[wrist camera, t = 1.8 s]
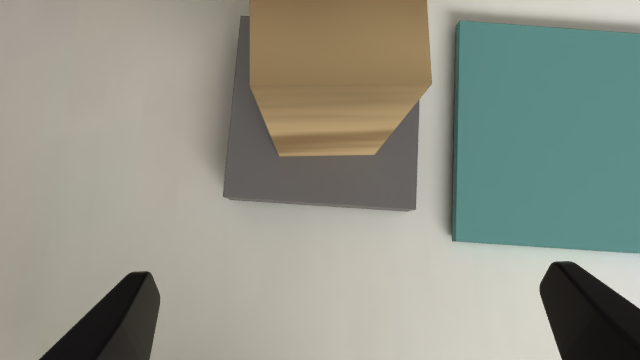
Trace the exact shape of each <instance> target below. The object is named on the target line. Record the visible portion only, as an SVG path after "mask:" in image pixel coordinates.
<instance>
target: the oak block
mask: <svg viewBox="0 0 640 360" xmlns="http://www.w3.org/2000/svg"><path fill="white" fill-rule="evenodd" d="M431 84H432V77H431V61H430V45H429V29H428V13H427V0H250V88H251V90H252V93H253V95H254V97H255V100H256V102H257V105H258V107H259V109H260V112H261V114H262V117H263V119H264V121H265V124H266V126H267V128H268V131H269V133H270V136H271V138H272V140H273V143H274V145H275V148H276V150H277V152H278V155H279V157H283V156H340V155H375V153H376V152H377V151H378V150H379V148H380V147H381V146H382V145H383V143H384V142H385V141H386V140H387V139H388V137H389V136H390V135H391V134H392V132H393V131H394V130H395V129H396V127H397V126H398V125H399V124H400V122H401V121H402V120H403V119H404V118H405V116H406V115H407V114H408V113H409V111H410V110H411V109H412V108H413V106H414V105H415V104H416V103H417V101H418V100H419V99H420V98H421V96H422V95H423V94H424V93H425V92H426V90H427V89H428V88H429V87H430V85H431Z"/></svg>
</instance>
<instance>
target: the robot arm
mask: <svg viewBox="0 0 640 360" xmlns="http://www.w3.org/2000/svg"><path fill="white" fill-rule="evenodd" d="M540 295H541V298H542V302H543V305H544V308H545V311H546V314H547V317H548V320H549V323H550V326H551V329H552V332H553V335H554V338H555V341H556V344H557V347H558V350H559V352H560V355H561V358H562V360H640V309H639V308H638V307H636V306H635V305H634V304H632V303H631V302H629V301H628V300H626V299H625V298H624V297H622V296H621V295H619V294H618V293H617V292H615V291H614V290H612V289H611V288H610V287H608V286H607V285H605V284H604V283H603V282H601V281H600V280H598V279H597V278H595V277H594V276H593V275H591V274H590V273H588V272H587V271H586V270H584V269H583V268H581V267H580V266H579V265H577V264H575V263H573V262H569V261H563V262H553V263H552V264H551V265H550V266H549V268H548V270H547V272H546V274H545V276H544V278H543V279H542V281H541V283H540ZM159 306H160V294H159V291H158V288H157V286H156V283H155V281H154V279H153V276H152V274H151V273H150V272H147V271H143V272H131V273H129V274H128V275H126V276H125V277H124V278H123V279H122V280H121V281H120V282H119V283H118V284H117V285H116V286H115V287H114V288H113V289H112V290H111V291H110V292H109V293H108V294H107V295H106V296H105V297H104V298H103V299H102V300H100V301H99V302H98V303H97V304H96V305H95V306H94V307H93V308H92V309H91V310H90V311H89V312H88V313H87V314H86V315H85V316H84V317H83V318H82V319H81V320H80V321H79V322H78V323H77V324H76V325H75V326H73V327H72V328H71V329H70V330H69V331H68V332H67V333H66V334H65V335H64V336H63V337H62V338H61V339H60V340H59V341H58V342H57V343H56V344H55V345H54V346H53V347H52V348H51V349H50V350H49V351H48V352H46V353H45V354H44V355H43V356H42V357H41V358H40V359H39V360H149V359H150V354H151V349H152V343H153V338H154V333H155V328H156V322H157V317H158V312H159Z"/></svg>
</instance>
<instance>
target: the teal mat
mask: <svg viewBox="0 0 640 360" xmlns="http://www.w3.org/2000/svg"><path fill="white" fill-rule="evenodd" d="M452 241H458V242H473V243H488V244H503V245H518V246H533V247H549V248H564V249H579V250H594V251H609V252H624V253H640V34H636V33H623V32H609V31H595V30H582V29H568V28H554V27H541V26H527V25H514V24H500V23H486V22H473V21H459V23H458V24H457V26H456V68H455V119H454V169H453V220H452Z"/></svg>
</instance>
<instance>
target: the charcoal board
mask: <svg viewBox="0 0 640 360" xmlns="http://www.w3.org/2000/svg"><path fill="white" fill-rule="evenodd" d="M418 125H419V100H418V101H417V103H416V104H415V105H414V106H413V108H412V109H411V110H410V111H409V113H408V114H407V115H406V116H405V118H404V119H403V120H402V121H401V122H400V124H399V125H398V126H397V127H396V129H395V130H394V131H393V132H392V134H391V135H390V136H389V137H388V139H387V140H386V141H385V142H384V143H383V145H382V146H381V147H380V148H379V150H378V151H377V152H376V153H375V155H340V156H283V157H279V155H278V152H277V150H276V148H275V145H274V143H273V140H272V138H271V136H270V133H269V131H268V128H267V126H266V124H265V121H264V119H263V117H262V114H261V112H260V109H259V107H258V105H257V102H256V100H255V97H254V95H253V93H252V90H251V88H250V16H241V19H240V29H239V39H238V49H237V60H236V70H235V80H234V90H233V100H232V110H231V120H230V130H229V140H228V151H227V161H226V171H225V181H224V191H223V197H225V198H228V199H230V200H242V201H257V202H272V203H287V204H302V205H317V206H332V207H347V208H362V209H377V210H392V211H411V210H415V209H416V187H417V156H418Z"/></svg>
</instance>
